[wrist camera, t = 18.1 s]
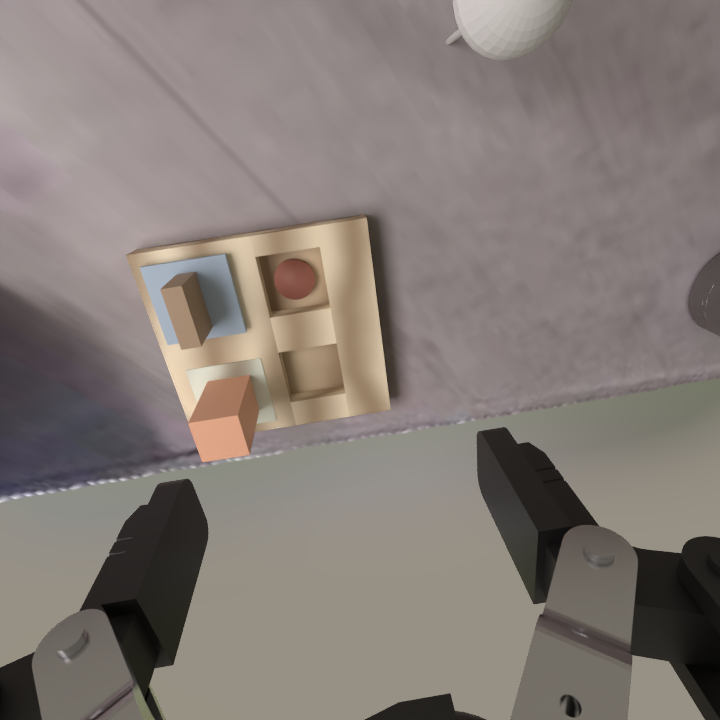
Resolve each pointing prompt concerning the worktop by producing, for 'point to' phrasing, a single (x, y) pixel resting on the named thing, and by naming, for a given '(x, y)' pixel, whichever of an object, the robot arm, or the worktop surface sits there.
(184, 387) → the board
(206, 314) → the lid
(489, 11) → the lollipop
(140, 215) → the worktop surface
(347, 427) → the worktop surface
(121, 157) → the worktop surface
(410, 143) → the worktop surface
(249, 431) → the block
